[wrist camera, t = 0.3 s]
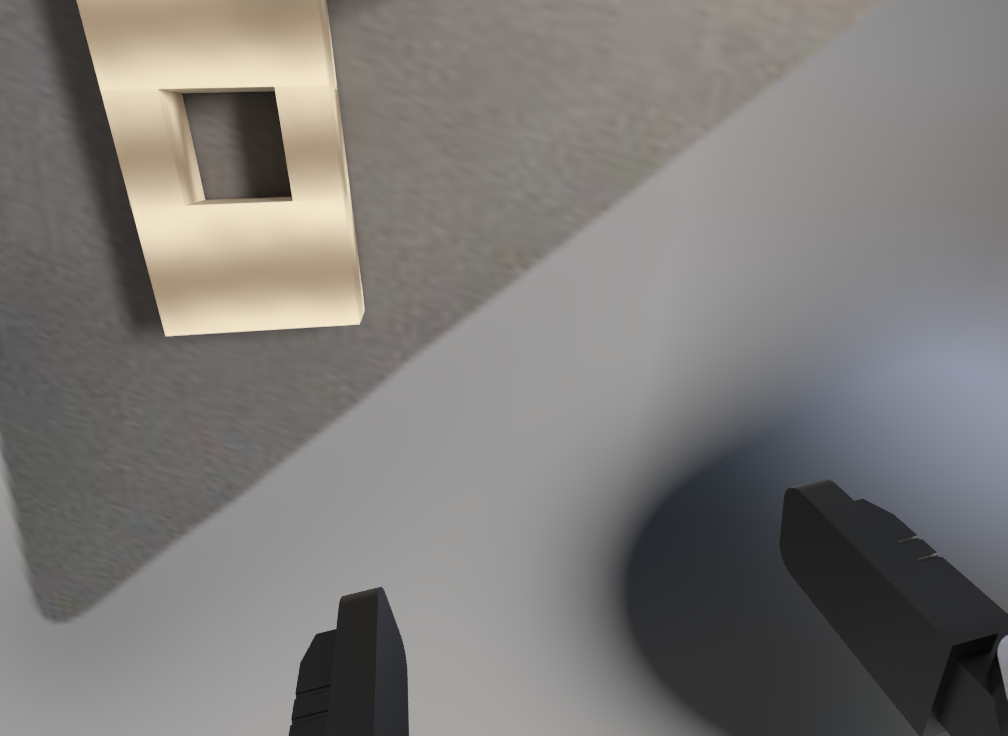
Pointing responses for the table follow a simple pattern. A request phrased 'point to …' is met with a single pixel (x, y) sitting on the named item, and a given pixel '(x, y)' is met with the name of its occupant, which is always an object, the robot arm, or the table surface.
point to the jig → (175, 175)
